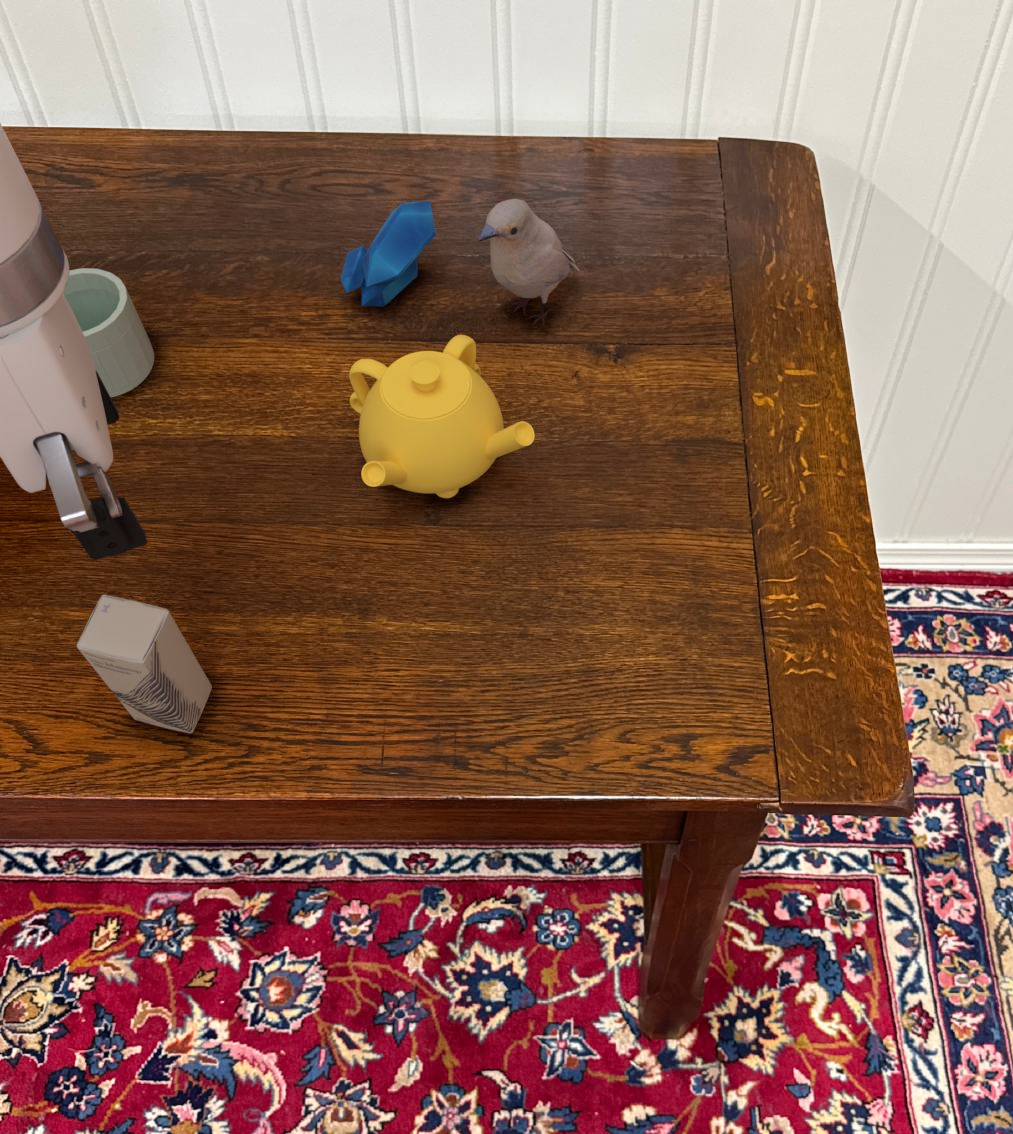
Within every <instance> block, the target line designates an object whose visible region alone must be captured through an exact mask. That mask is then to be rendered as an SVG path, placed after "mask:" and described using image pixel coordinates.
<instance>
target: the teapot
mask: <svg viewBox="0 0 1013 1134" xmlns="http://www.w3.org/2000/svg"><path fill="white" fill-rule="evenodd" d="M476 360H477V344H476V341H475V340H474V339H473V338H472V337H470V336H468V335H466V334H457V335H455V336H454V337H452V338H451V339H450V340H449V341H448V342H447V343H446V345H445V347H444V349H443V351H442V352H441V351H436V350H422V351H421V350H420V351H415V352H411V353H408V354H405V355H403V356H402V357H399V358H397V359H395V361H393V362H392V363H391V364H390V365H389V366H387V365H386V364H384V363H382V362H380V361H377V360H375V359H372V358H361V359H358V360H356V361H355V362H354V363H353V364H352V366H351V367H350V369H349V372H348V377H349V378H348V379H349V382H350V384H351V388H352V389H353V392H352V393H351V394H350V397H349V405H350V407H351V408H352V409H353V410H354V411H355V412H356V413H358V414H359V415H360V416H359V423H358V440H359V446H360V450H361V453H362V456H363V459H364V460H365V462H366V463H365V464H364V465H363V467H362V469H361V472H360V473H361V479H362V482H363V483H364V484H366V486H368V487H372V488H374V487H376V488H377V487H384V486H394V487H396V488H399V489H401V490H403V491H407V492H412V493H418V494H435V495H436V496H438V497H439V498H443V499H450V498H453V497H455V496H456V495H457V494H458V493H459V490H460V489H461V488H463V487H465V486H467V485H470V484H471V483H473V482H474V481H476V480H478V479H479V478H480V477H481V476H483V475H484V474H485V473H486V472H487V471H488V470H489V469H490V468H491V466H492V465H493V464H494V462H495V461H496V459H497V458H499V457H502V456H505V455H507V454H510V453H513V452H515V451H518V450H521V449H523V448H525V447H528V446H530V445H532V444H533V443H534V441H535V437H536V435H535V430H534V427H532V425H531V424H530V423H529V422H527V421H523V420H522V421H518V422H516V423H514V424H511V425H509V426H508V427H505V426H504V419H503V414H502V411H501V407H500V405H499V402H498V400H497V398H496V396H495V394H494V392H493V391H492V389H491V387H490V386H489V385H488V383H487V382H486V381H485V380H484V379H483V378H482V376H481V375H482V371H481V367H480V366H479V364H477V363H476V362H477V361H476ZM363 374H364V375H367V376H369V377H372V378H374V379H375V381H374V383H373V385H372V386H371V388H370V386H369V385H368V383H367V380H366V378H365V376H364V375H363Z"/></svg>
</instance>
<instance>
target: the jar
mask: <svg viewBox="0 0 1013 1134" xmlns="http://www.w3.org/2000/svg"><path fill="white" fill-rule="evenodd" d="M63 294H64V295H65V297H66V299H67V301H68V303H69V305H70V307H71V309H72V311H73V313H74V315H75V317H76V319H77V321H78V323H79V325H80V327H81V330H82V332H83V334H84V337H85V339H86V341H87V344H88V347H89V350H90V353H91V356H92V359H93V363H94V367H95V371H97V372H98V374H99V376H100V378H101V380H102V382H103V384H104V386H105V388H106V390H107V391H108V393H109V395H110V397H111V398H114V397H118V396H121V395H124V394H126V393H128V392H130V391H132V390H133V389H135V388H137V387H138V386H139V385H140V384H142V382H144V381H145V380H146V379H147V377H148V376H149V374H151V372H152V369H153V367H154V363H155V352H154V351H155V350H154V349H153V346H152V342H151V341H150V338H149V336H148V333H147V331H146V329H145V327H144V325H143V323H142V320H141V317H140V315H139V313H138V311H137V309H136V307H135V305H134V302H133V301H132V299H131V296H130V294H129V291H128V289H127V287H126V285H125V284H124V282H123V281H122V279H121V278H120V277H118V276H116V275H115V274H114V273H112V272H110V271H107V270H103V269H100V268H93V267H92V268H88V267H81V268H76V269H71V270H70V269H69V279H68V282H67V284H66V288H65V290H64V292H63Z"/></svg>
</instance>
